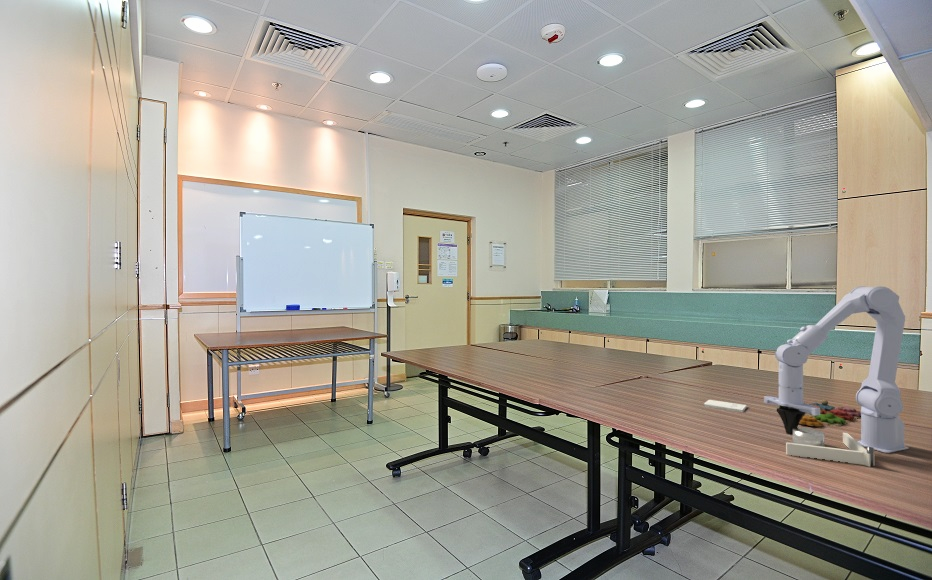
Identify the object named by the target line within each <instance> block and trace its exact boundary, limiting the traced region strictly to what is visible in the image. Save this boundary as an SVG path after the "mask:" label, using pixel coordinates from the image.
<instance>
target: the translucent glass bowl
mask: <svg viewBox="0 0 932 580" xmlns="http://www.w3.org/2000/svg"><path fill="white" fill-rule="evenodd" d="M792 443H796V444H804V445H813V446H821V447H825V433H824V432H823V431H821V430H817V429H814V428H808V427H797V428H793V435H792Z"/></svg>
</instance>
